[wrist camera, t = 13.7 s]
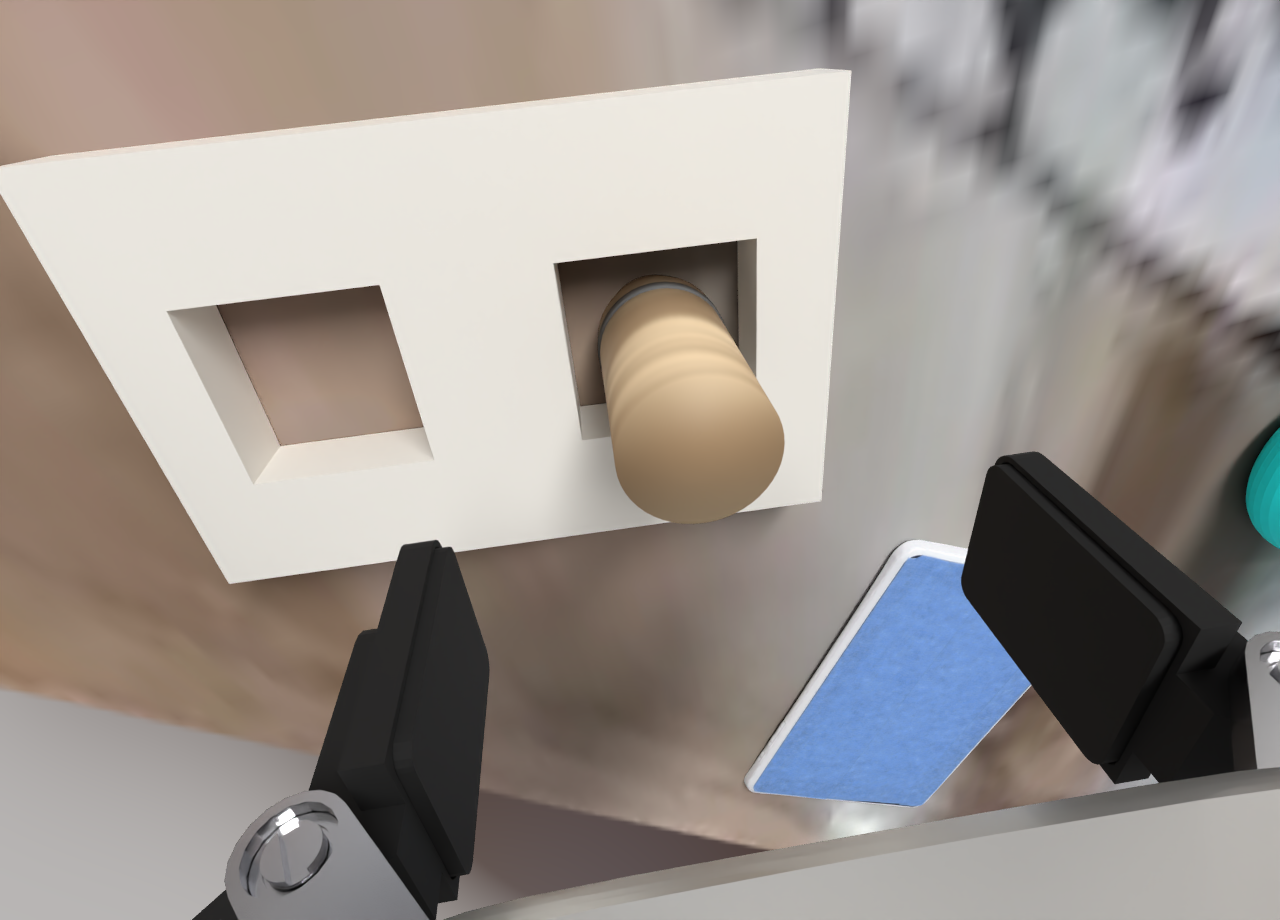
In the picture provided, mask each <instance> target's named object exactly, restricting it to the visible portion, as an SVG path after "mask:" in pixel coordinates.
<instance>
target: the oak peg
mask: <svg viewBox="0 0 1280 920" xmlns="http://www.w3.org/2000/svg"><path fill="white" fill-rule="evenodd" d="M598 356H599V362H600V367H601V370H602V374H603V381H604V388H605V396H606V403H607V411H608V418H609V425H610V433H611V440H612V448H613V455H614V462H615V469H616V473H617V477H618V480H619V482H620V485H621V487H622V488H623V490H624V492H625V493H626V495H627V496H628V497H629V498H630V500H631V501H632V502H633V503H634V504H635V505H637V506H638V507H639V508H640V509H642V510H643V511H645V512H646V513H648V514H650V515H652V516H654V517H656V518H659V519H662V520H665V521H669V522H673V523H681V524H698V523H706V522H712V521H716V520H719V519H722V518H725V517H728V516H730V515H733V514H735V513H737V512H738V511H740V510H742V509H744V508H745V507H747V506H748V505H750V504H751V503H752V502H754V501H755V500H756V499H757V498H758V497H759V496H760V495H761V494H762V493H763V492H764V491H765V490H766V489H767V488H768V486H769V485H770V484H771V482H772V481H773V479H774V477H775V476H776V474H777V472H778V470H779V467H780V465H781V462H782V458H783V454H784V445H785V441H784V431H783V426H782V423H781V420H780V418H779V415H778V414H777V412H776V410H775V408H774V407H773V405H772V403H771V402H770V400H769V398H768V397H767V395H766V393H765V392H764V390H763V389H762V387H761V385H760V384H759V382H758V380H757V379H756V377H755V375H754V374H753V372H752V370H751V369H750V367H749V365H748V364H747V362H746V360H745V359H744V357H743V355H742V354H741V352H740V350H739V349H738V347H737V345H736V344H735V342H734V340H733V339H732V337H731V335H730V334H729V332H728V330H727V329H726V327H725V324H724V322H723V319H722V317H721V316H720V314H719V312H718V311H717V309H716V307H715V306H714V305H713V303H712V302H711V301H710V300H709V299H708V298H707V297H706V295H705V294H704V293H703V292H702V291H701V290H700V289H698V288H697V287H695V286H694V285H693V284H691V283H689V282H687V281H685V280H682V279H679V278H675V277H670V276H663V275H648V276H643V277H640V278H637V279H635V280H633V281H631V282H629V283H628V284H626V285H625V286H624V287H623V288H622V289H621V290H620V291H619V292H618V293H617V294H616V295H615V297H614V298H613V299H612V300H611V301H610V303H609V304H608V306H607V307H606V309H605V311H604V313H603V315H602V318H601V321H600V325H599V330H598Z"/></svg>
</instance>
